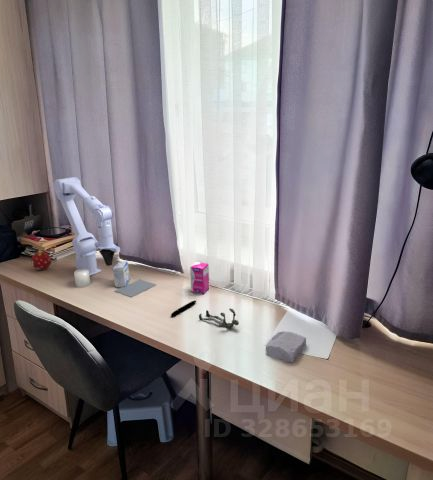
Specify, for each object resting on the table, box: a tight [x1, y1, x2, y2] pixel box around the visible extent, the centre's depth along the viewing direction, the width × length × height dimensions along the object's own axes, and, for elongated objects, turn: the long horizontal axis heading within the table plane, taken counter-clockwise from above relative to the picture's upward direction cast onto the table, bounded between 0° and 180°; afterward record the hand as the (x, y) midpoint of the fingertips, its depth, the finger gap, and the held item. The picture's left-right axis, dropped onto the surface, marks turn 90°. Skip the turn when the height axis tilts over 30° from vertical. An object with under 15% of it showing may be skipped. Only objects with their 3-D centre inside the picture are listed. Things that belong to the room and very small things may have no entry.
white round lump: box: [73, 269, 91, 288], centre depth 169 cm, size 6×6×6 cm
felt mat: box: [114, 279, 157, 298], centre depth 165 cm, size 10×14×1 cm
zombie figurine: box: [198, 308, 240, 329], centre depth 135 cm, size 5×7×15 cm
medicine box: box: [112, 260, 131, 288], centre depth 169 cm, size 8×4×9 cm, turn 179°
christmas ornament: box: [31, 249, 52, 271], centre depth 186 cm, size 9×9×10 cm
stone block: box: [265, 331, 307, 364], centre depth 121 cm, size 12×5×10 cm
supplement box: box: [189, 261, 210, 295], centre depth 160 cm, size 6×6×12 cm
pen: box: [170, 300, 198, 318], centre depth 146 cm, size 2×14×2 cm, turn 142°
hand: (109, 265), depth 172 cm, fingers closed
